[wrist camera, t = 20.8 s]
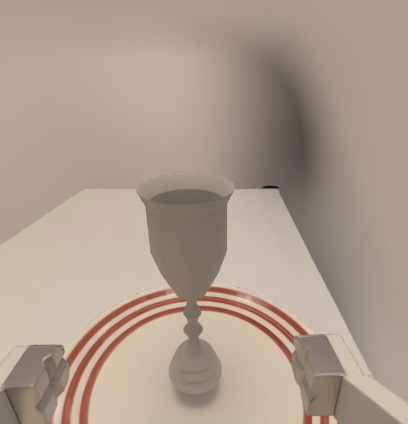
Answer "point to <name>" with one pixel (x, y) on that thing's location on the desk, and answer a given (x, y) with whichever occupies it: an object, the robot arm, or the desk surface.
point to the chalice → (189, 259)
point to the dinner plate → (163, 354)
